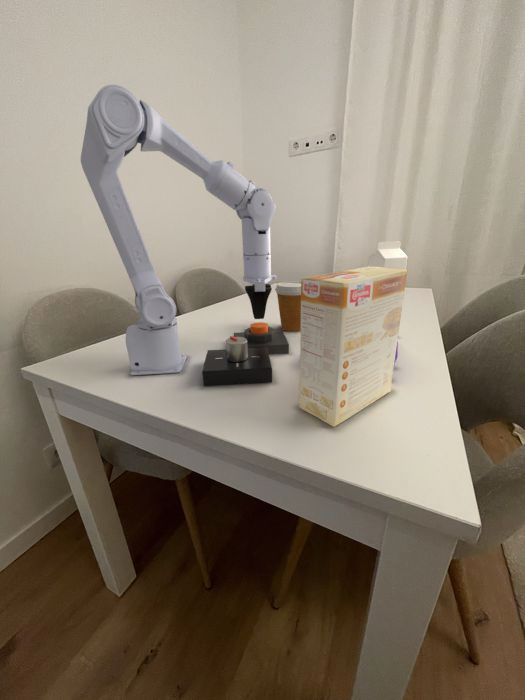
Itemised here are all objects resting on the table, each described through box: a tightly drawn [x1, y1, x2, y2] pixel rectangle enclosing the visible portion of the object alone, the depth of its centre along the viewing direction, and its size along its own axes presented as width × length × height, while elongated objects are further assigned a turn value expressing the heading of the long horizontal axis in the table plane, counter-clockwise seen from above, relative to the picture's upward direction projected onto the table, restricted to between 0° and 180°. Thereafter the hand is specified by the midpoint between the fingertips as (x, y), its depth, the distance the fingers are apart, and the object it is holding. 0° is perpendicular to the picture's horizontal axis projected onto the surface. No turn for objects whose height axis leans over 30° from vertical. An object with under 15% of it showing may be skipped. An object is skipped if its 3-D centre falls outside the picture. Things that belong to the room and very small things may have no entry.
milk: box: [367, 240, 409, 270], centre depth 72 cm, size 6×6×22 cm
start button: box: [249, 321, 269, 334], centre depth 68 cm, size 4×4×2 cm
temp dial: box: [224, 335, 248, 362], centre depth 56 cm, size 4×4×4 cm
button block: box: [233, 326, 290, 356], centre depth 69 cm, size 12×10×4 cm
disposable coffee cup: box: [275, 280, 301, 333], centre depth 81 cm, size 10×10×12 cm
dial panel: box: [201, 347, 273, 388], centre depth 57 cm, size 12×10×3 cm
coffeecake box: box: [298, 266, 408, 428], centre depth 44 cm, size 15×7×20 cm, turn 129°
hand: (259, 318), depth 68 cm, fingers closed
